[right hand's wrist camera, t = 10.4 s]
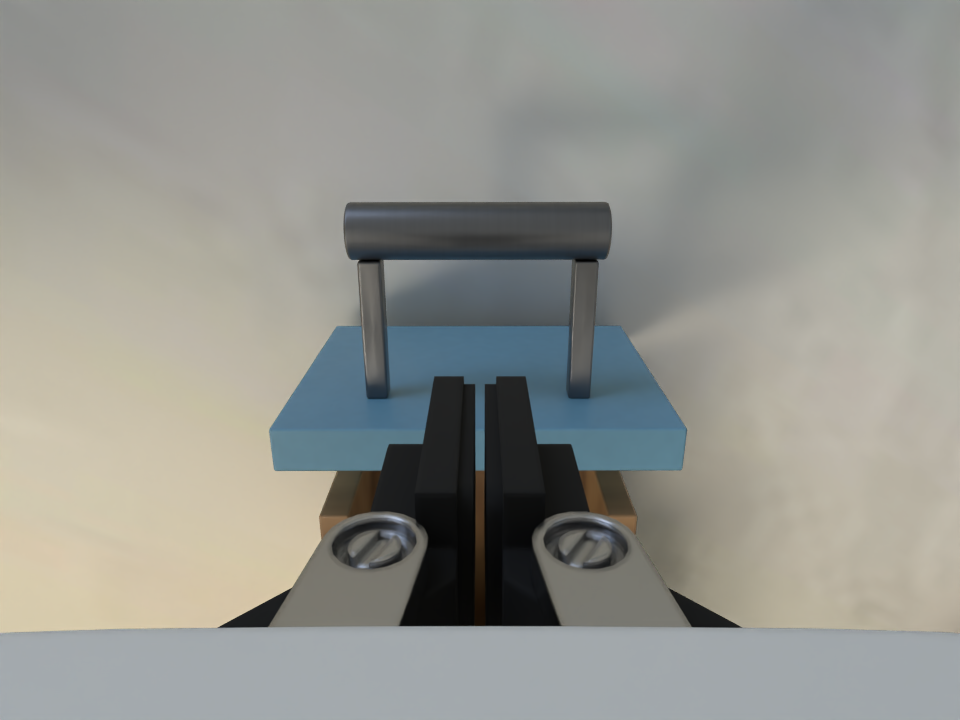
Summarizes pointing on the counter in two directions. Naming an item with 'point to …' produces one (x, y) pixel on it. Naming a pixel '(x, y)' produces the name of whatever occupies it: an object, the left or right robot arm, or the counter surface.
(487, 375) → the drawer
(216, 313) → the counter surface
